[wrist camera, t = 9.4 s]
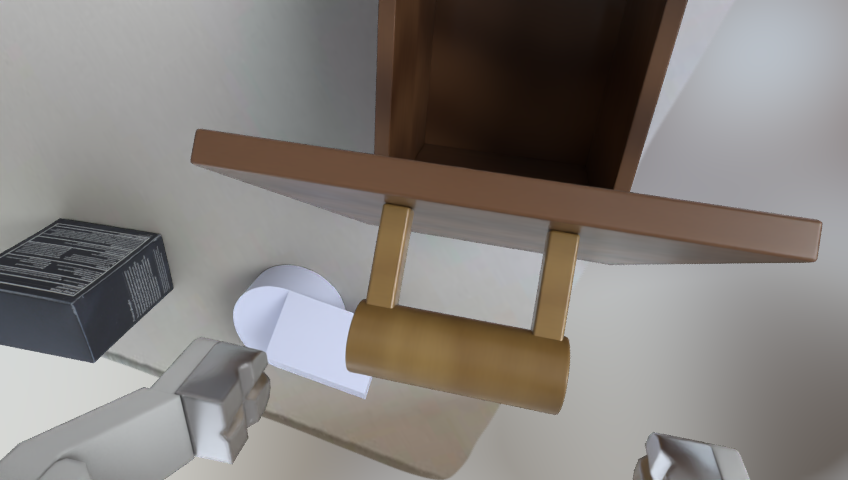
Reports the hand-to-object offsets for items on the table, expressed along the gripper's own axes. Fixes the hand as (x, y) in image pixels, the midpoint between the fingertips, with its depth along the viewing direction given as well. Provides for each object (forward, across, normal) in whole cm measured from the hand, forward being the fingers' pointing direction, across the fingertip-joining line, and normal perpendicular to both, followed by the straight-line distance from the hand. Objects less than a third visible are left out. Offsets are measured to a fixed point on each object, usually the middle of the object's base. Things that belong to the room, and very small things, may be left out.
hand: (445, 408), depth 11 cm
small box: (+27, +34, +19) cm, 47 cm away
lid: (+9, 0, 0) cm, 9 cm away
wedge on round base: (+27, +14, +22) cm, 37 cm away
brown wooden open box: (+27, 0, -3) cm, 27 cm away
